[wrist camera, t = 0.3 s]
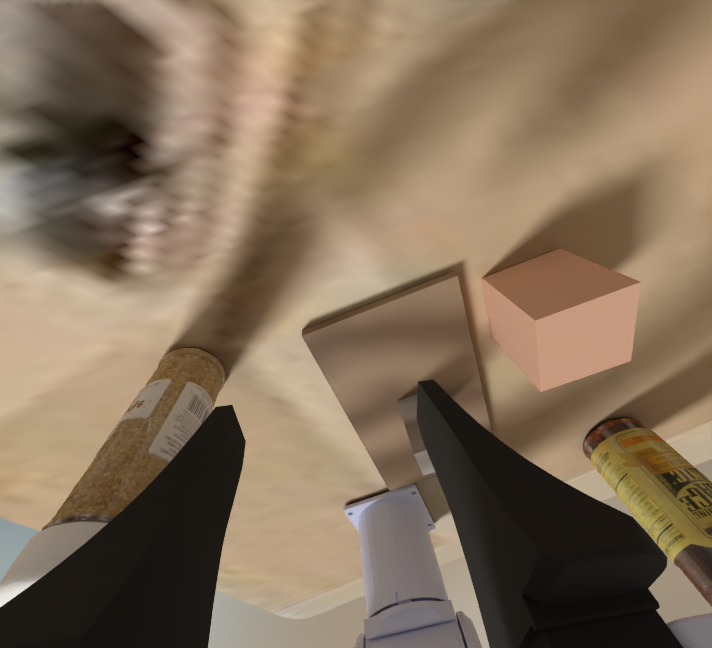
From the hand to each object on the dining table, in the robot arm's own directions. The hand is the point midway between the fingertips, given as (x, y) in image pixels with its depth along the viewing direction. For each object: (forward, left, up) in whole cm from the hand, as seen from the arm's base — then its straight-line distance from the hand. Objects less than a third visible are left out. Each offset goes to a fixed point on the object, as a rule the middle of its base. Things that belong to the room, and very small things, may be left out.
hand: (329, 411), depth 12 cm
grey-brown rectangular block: (-11, -3, -10) cm, 15 cm away
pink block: (-5, -13, -10) cm, 17 cm away
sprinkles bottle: (-1, +11, -10) cm, 15 cm away
